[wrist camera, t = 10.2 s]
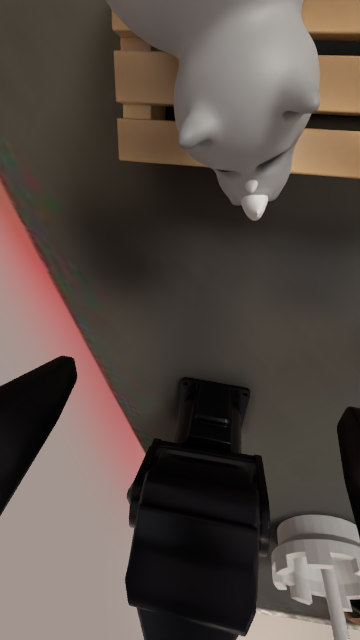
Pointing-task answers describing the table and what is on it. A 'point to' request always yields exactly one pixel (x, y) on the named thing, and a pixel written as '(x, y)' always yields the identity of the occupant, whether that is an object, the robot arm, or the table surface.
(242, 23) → the round bodied animal figurine
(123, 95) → the wooden pallet
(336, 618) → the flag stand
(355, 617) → the bird sculpture
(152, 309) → the table surface
